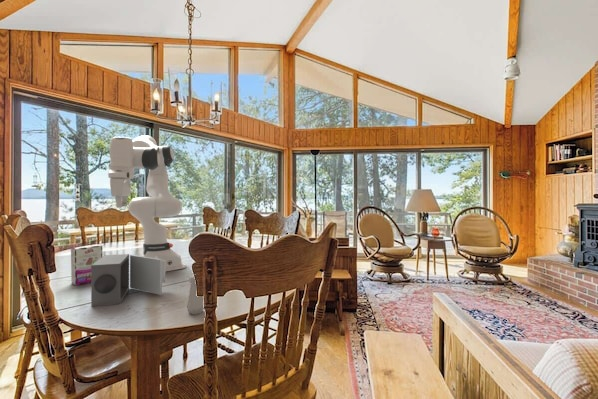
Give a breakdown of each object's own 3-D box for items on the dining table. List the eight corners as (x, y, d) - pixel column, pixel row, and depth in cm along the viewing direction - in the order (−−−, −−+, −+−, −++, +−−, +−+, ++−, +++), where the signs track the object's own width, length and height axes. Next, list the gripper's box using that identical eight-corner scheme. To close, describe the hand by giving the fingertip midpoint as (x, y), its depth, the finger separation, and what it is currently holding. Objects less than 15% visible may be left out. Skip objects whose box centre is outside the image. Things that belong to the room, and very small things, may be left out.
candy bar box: (97, 278, 142) (98, 244, 142) (103, 279, 140) (103, 245, 139) (70, 283, 133) (70, 247, 132) (75, 285, 130) (75, 248, 130)
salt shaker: (189, 309, 106) (189, 273, 106) (205, 308, 107) (206, 273, 106) (184, 315, 100) (184, 277, 100) (201, 315, 101) (202, 277, 101)
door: (129, 287, 127) (129, 255, 127) (140, 284, 132) (140, 253, 132) (159, 294, 119) (160, 259, 119) (170, 290, 124) (170, 257, 124)
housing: (104, 290, 124) (104, 255, 124) (129, 288, 127) (129, 254, 127) (89, 308, 106) (90, 266, 105) (118, 305, 109) (119, 264, 108)
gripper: (118, 175, 134) (118, 205, 135) (107, 172, 115) (106, 208, 116) (134, 176, 137) (134, 205, 137) (125, 173, 117) (125, 208, 118)
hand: (121, 207), depth 126 cm, fingers open, 8 cm apart
